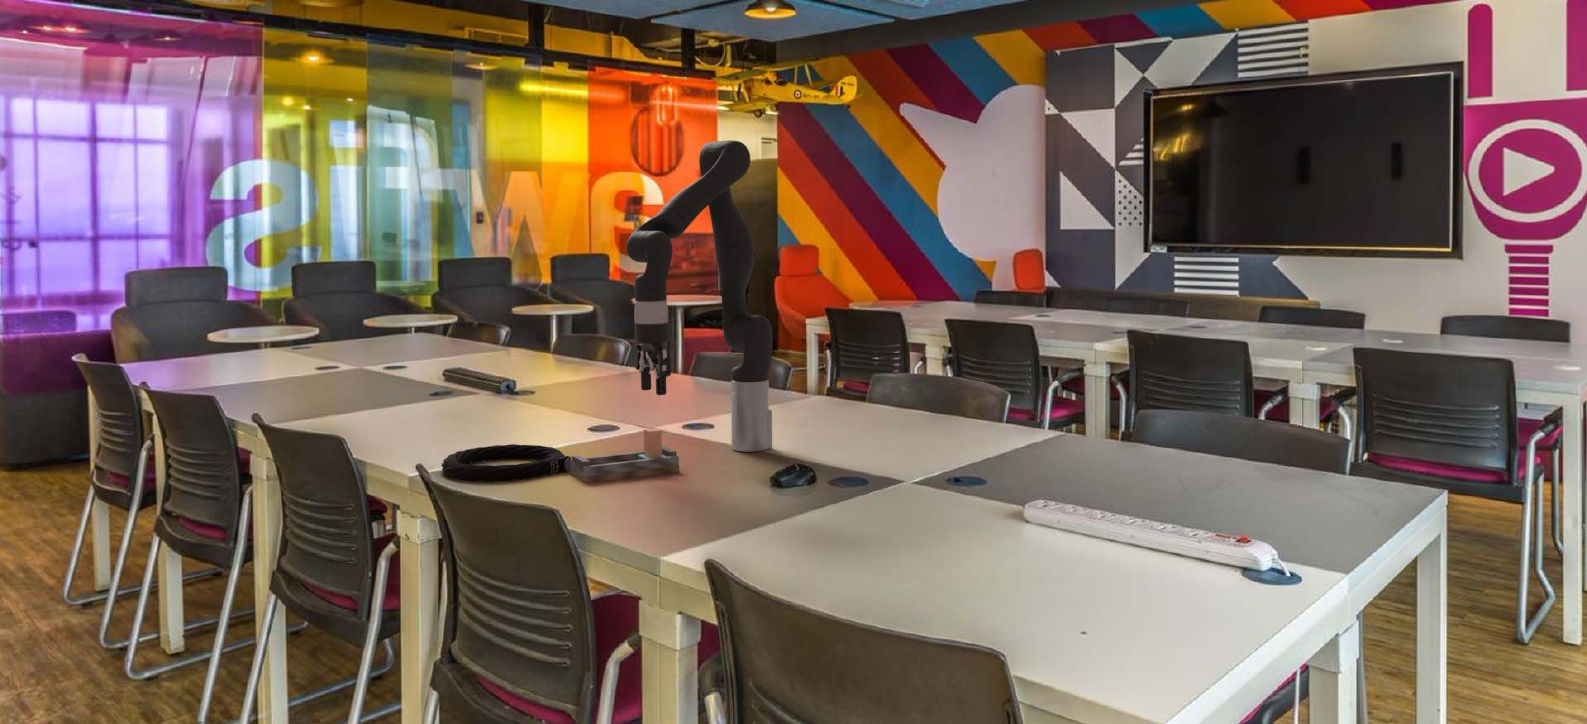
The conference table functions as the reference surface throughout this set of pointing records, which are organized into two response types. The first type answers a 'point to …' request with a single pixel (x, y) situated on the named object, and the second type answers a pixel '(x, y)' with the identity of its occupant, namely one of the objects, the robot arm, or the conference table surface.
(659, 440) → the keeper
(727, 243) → the robot arm
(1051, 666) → the conference table surface
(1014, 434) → the conference table surface
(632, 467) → the board
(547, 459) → the cable lock
